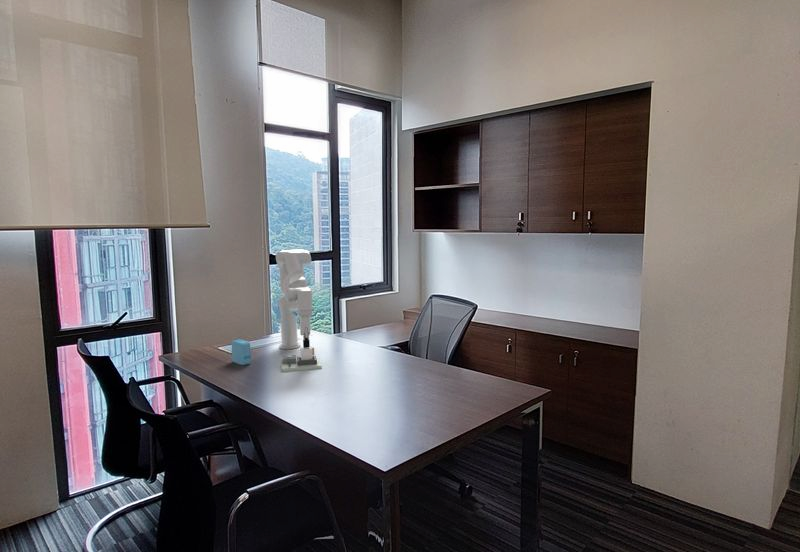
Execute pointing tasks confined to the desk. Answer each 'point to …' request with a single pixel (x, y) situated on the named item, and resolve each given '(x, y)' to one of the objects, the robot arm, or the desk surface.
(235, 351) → the data package
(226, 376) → the desk surface
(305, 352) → the plug
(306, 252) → the robot arm
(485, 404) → the desk surface
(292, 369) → the board
